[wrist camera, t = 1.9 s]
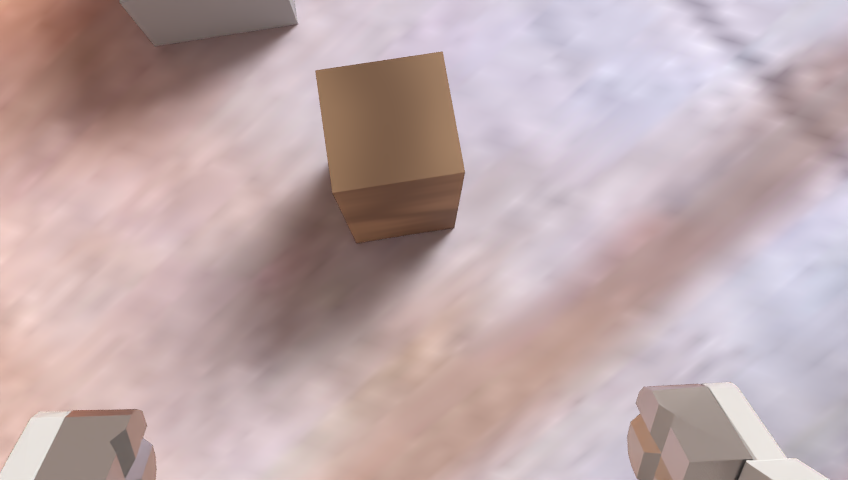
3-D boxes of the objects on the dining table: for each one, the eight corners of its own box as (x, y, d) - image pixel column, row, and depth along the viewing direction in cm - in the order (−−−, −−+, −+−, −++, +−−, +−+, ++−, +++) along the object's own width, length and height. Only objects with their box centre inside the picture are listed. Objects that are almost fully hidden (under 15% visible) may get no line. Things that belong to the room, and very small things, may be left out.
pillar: (438, 135, 31) (442, 51, 23) (454, 227, 30) (464, 172, 22) (343, 150, 31) (315, 70, 23) (356, 243, 30) (332, 193, 22)
